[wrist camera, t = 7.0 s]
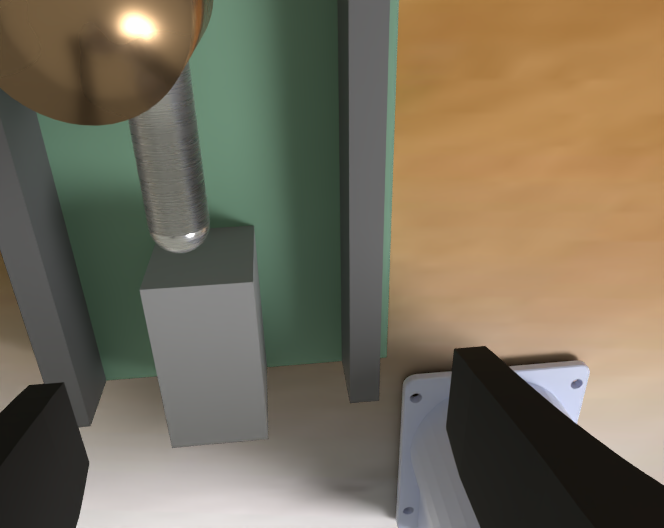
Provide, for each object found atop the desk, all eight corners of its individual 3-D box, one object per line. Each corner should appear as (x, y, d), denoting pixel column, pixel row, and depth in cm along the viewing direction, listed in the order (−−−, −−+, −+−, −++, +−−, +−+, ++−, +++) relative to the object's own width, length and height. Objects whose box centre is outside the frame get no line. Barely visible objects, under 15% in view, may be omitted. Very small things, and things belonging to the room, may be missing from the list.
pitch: (379, 334, 24) (407, 425, 19) (69, 358, 22) (22, 461, 18) (405, -638, 12) (491, -982, 7) (-236, -679, 11) (-578, -1106, 6)
